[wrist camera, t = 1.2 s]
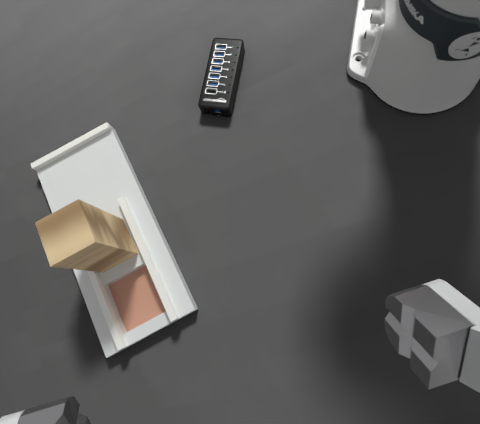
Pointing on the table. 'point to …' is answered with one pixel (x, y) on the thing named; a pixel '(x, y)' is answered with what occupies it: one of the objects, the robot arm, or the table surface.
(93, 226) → the block
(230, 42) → the multiport hub
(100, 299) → the channel
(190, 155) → the table surface
